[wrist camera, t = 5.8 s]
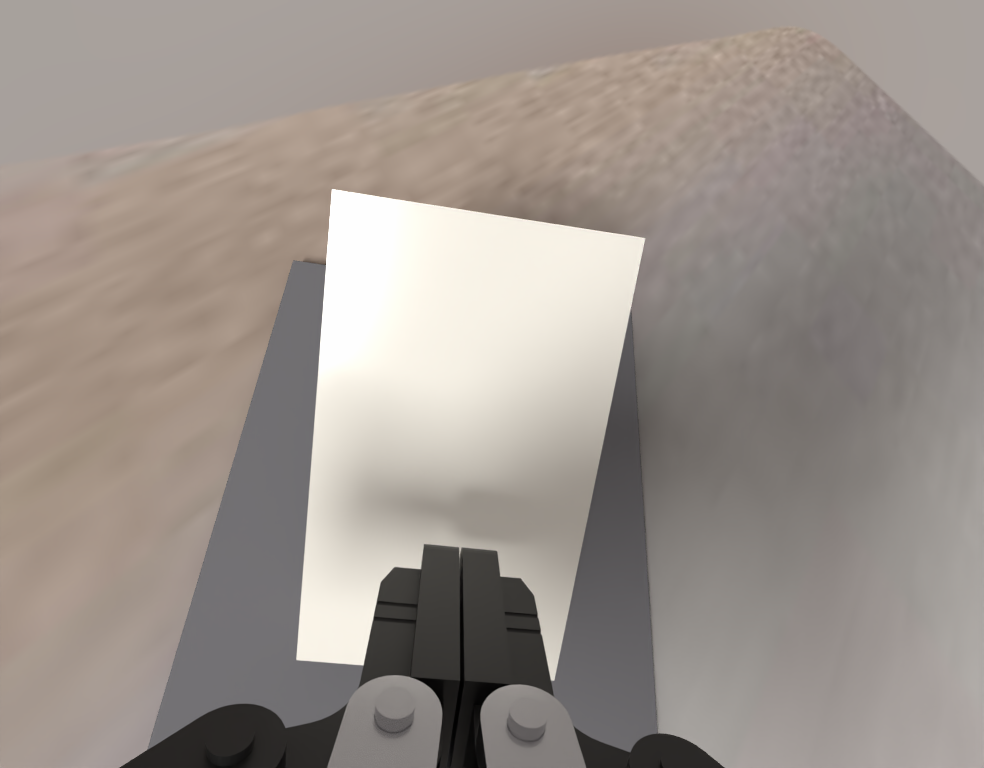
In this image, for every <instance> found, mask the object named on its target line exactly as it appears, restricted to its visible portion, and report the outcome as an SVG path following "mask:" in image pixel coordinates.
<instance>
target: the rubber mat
mask: <svg viewBox="0 0 984 768" xmlns="http://www.w3.org/2000/svg"><path fill="white" fill-rule="evenodd" d="M325 276H326V265H322V264H315V263H308V262H301V261H294V260H293V263H292V267H291V270H290V273H289V277H288V280H287V283H286V287H285V290H284V293H283V297H282V300H281V303H280V307H279V310H278V314H277V317H276V320H275V324H274V327H273V330H272V334H271V337H270V340H269V344H268V347H267V350H266V354H265V357H264V360H263V364H262V367H261V371H260V374H259V377H258V381H257V384H256V387H255V391H254V394H253V397H252V401H251V404H250V407H249V411H248V414H247V417H246V421H245V424H244V427H243V431H242V434H241V438H240V441H239V444H238V448H237V451H236V454H235V458H234V461H233V464H232V468H231V471H230V474H229V478H228V481H227V484H226V488H225V491H224V495H223V498H222V501H221V505H220V508H219V511H218V515H217V518H216V521H215V525H214V528H213V531H212V535H211V538H210V541H209V545H208V548H207V551H206V555H205V558H204V562H203V565H202V568H201V572H200V575H199V578H198V582H197V585H196V588H195V592H194V595H193V598H192V602H191V605H190V608H189V612H188V615H187V619H186V622H185V625H184V629H183V632H182V635H181V639H180V642H179V645H178V649H177V652H176V655H175V659H174V662H173V665H172V669H171V672H170V676H169V679H168V682H167V686H166V689H165V692H164V696H163V699H162V702H161V706H160V709H159V712H158V716H157V719H156V722H155V726H154V729H153V732H152V736H151V739H150V743H149V746H148V749H150V748H152V747H153V746H155V745H156V744H158V743H159V742H161V741H163V740H164V739H166V738H167V737H169V736H171V735H172V734H174V733H175V732H177V731H178V730H180V729H182V728H183V727H185V726H186V725H188V724H190V723H191V722H193V721H194V720H196V719H198V718H199V717H201V716H203V715H204V714H206V713H208V712H210V711H212V710H215V709H217V708H220V707H224V706H227V705H233V704H256V705H259V706H263V707H265V708H267V709H270V710H271V711H273V712H274V713H275V714H277V715H278V717H279V718H280V719H281V720H282V722H283V724H284V726H285V728H288V727H293V726H297V725H302V724H307V723H311V722H315V721H318V720H321V719H324V718H326V717H328V716H330V715H332V714H334V713H336V712H337V711H339V710H340V709H341V708H343V707H344V706H345V705H346V704H347V703H348V702H349V700H350V698H351V697H352V695H353V694H354V692H355V691H356V690H357V689H358V687H359V683H360V680H361V675H362V670H363V665H352V664H339V663H327V662H314V661H301V660H296V657H297V644H298V631H299V617H300V604H301V591H302V578H303V565H304V552H305V539H306V526H307V512H308V499H309V486H310V473H311V460H312V447H313V434H314V421H315V407H316V394H317V381H318V368H319V355H320V342H321V329H322V316H323V302H324V289H325ZM551 683H552V688H553V693H554V697H555V698H556V699H557V700H558V701H559V702H560V703H561V704H562V705H563V706H564V707H565V709H566V710H567V712H568V714H569V716H570V718H571V720H572V723H573V726H574V727H576V728H577V729H578V730H580V731H581V732H582V733H584V734H586V735H587V736H589V737H591V738H593V739H595V740H598V741H600V742H603V743H605V744H608V745H611V746H614V747H617V748H619V749H622V750H625V751H628V752H631V750H632V748H633V746H634V744H635V743H636V742H637V741H638V740H639V739H641V738H642V737H644V736H647V735H651V734H658V732H657V716H656V700H655V684H654V668H653V652H652V636H651V620H650V604H649V588H648V572H647V556H646V540H645V524H644V507H643V491H642V475H641V459H640V443H639V427H638V411H637V395H636V379H635V363H634V347H633V331H632V315H631V310H630V315H629V319H628V324H627V329H626V334H625V339H624V344H623V349H622V353H621V358H620V363H619V368H618V373H617V378H616V383H615V388H614V392H613V397H612V402H611V407H610V412H609V417H608V422H607V427H606V431H605V436H604V441H603V446H602V451H601V456H600V461H599V465H598V470H597V475H596V480H595V485H594V490H593V495H592V500H591V504H590V509H589V514H588V519H587V524H586V529H585V534H584V538H583V543H582V548H581V553H580V558H579V563H578V568H577V573H576V577H575V582H574V587H573V592H572V597H571V602H570V607H569V612H568V616H567V621H566V626H565V631H564V636H563V641H562V646H561V650H560V655H559V660H558V665H557V670H556V675H555V680H554V681H552V680H551ZM148 749H147V750H148Z"/></svg>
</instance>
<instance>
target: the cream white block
mask: <svg viewBox="0 0 984 768" xmlns="http://www.w3.org/2000/svg"><path fill="white" fill-rule="evenodd" d="M644 242H645V238H641V237H635V236H628V235H622V234H615V233H609V232H602V231H596V230H590V229H583V228H577V227H570V226H564V225H557V224H551V223H545V222H538V221H532V220H525V219H519V218H512V217H506V216H500V215H493V214H487V213H480V212H474V211H467V210H461V209H455V208H448V207H442V206H435V205H429V204H422V203H416V202H410V201H403V200H397V199H390V198H384V197H377V196H371V195H365V194H358V193H352V192H345V191H339V190H332V198H331V211H330V224H329V237H328V250H327V263H326V276H325V289H324V302H323V316H322V329H321V342H320V355H319V368H318V381H317V394H316V407H315V421H314V434H313V447H312V460H311V473H310V486H309V499H308V512H307V526H306V539H305V552H304V565H303V578H302V591H301V604H300V617H299V631H298V644H297V657H296V660H301V661H314V662H327V663H339V664H352V665H364V660H365V655H366V651H367V646H368V641H369V636H370V631H371V626H372V622H373V617H374V612H375V607H376V603H377V597H378V593H379V588H380V583H381V581H382V580H383V579H384V578H385V577H386V576H387V575H388V574H389V572H390V571H391V570H392V569H393V568H394V567H402V568H413V569H421V563H422V555H423V547H424V544H431V545H441V546H452V547H459V558H460V552H461V548H462V547H463V548H474V549H484V550H495V551H497V553H498V561H499V569H500V576H501V577H512V578H521V579H522V581H523V582H524V583H525V584H526V586H527V587H528V588H529V590H530V591H531V592H532V593H533V595H534V597H535V602H536V608H537V613H538V618H539V623H540V628H541V634H542V638H543V643H544V648H545V653H546V658H547V663H548V668H549V673H550V678H551V680H552V681H554V680H555V675H556V670H557V665H558V660H559V655H560V650H561V646H562V641H563V636H564V631H565V626H566V621H567V616H568V612H569V607H570V602H571V597H572V592H573V587H574V582H575V577H576V573H577V568H578V563H579V558H580V553H581V548H582V543H583V538H584V534H585V529H586V524H587V519H588V514H589V509H590V504H591V500H592V495H593V490H594V485H595V480H596V475H597V470H598V465H599V461H600V456H601V451H602V446H603V441H604V436H605V431H606V427H607V422H608V417H609V412H610V407H611V402H612V397H613V392H614V388H615V383H616V378H617V373H618V368H619V363H620V358H621V353H622V349H623V344H624V339H625V334H626V329H627V324H628V319H629V315H630V310H631V305H632V300H633V295H634V290H635V285H636V280H637V276H638V271H639V266H640V261H641V256H642V251H643V246H644Z"/></svg>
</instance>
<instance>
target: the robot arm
mask: <svg viewBox="0 0 984 768" xmlns="http://www.w3.org/2000/svg"><path fill="white" fill-rule="evenodd" d="M120 768H724V767H723V766H722V765H720V764H719V763H718V762H717V761H716V760H714V759H713V758H712V757H711V756H709V755H708V754H707V753H706V752H704V751H703V750H702V749H700V748H699V747H698V746H696V745H694V744H693V743H691V742H689V741H687V740H685V739H682V738H680V737H677V736H674V735H669V734H651V735H647V736H644V737H642V738H641V739H639V740H638V741H637V742H636V743H635V744H634V746H633V748H632V750H631V752H628V751H625V750H622V749H619V748H617V747H614V746H611V745H608V744H605V743H603V742H600V741H598V740H595V739H593V738H591V737H589V736H587V735H586V734H584V733H582V732H581V731H580V730H578V729H577V728H576V727H574V726H573V723H572V720H571V718H570V716H569V714H568V712H567V710H566V709H565V707H564V706H563V705H562V704H561V703H560V702H559V701H558V700H557V699H556V698H555V697H554V693H553V688H552V683H551V678H550V673H549V668H548V663H547V658H546V653H545V648H544V643H543V638H542V634H541V628H540V623H539V618H538V613H537V608H536V602H535V597H534V595H533V593H532V592H531V591H530V590H529V588H528V587H527V586H526V584H525V583H524V582H523V581H522V579H521V578H512V577H501V576H500V569H499V561H498V553H497V551H495V550H484V549H474V548H463V547H462V548H461V552H460V558H459V547H452V546H441V545H431V544H424V547H423V555H422V563H421V569H413V568H402V567H394V568H393V569H392V570H391V571H390V572H389V574H388V575H387V576H386V577H385V578H384V579H383V580H382V581H381V583H380V588H379V593H378V597H377V603H376V607H375V612H374V617H373V622H372V626H371V631H370V636H369V641H368V646H367V651H366V655H365V660H364V665H363V670H362V675H361V680H360V683H359V687H358V689H357V690H356V691H355V692H354V694H353V695H352V697H351V698H350V700H349V702H348V703H347V704H346V705H345V706H344V707H343V708H341V709H340V710H339V711H337V712H336V713H334V714H332V715H330V716H328V717H326V718H324V719H321V720H318V721H315V722H311V723H307V724H302V725H297V726H293V727H288V728H285V726H284V724H283V722H282V720H281V719H280V718H279V717H278V715H277V714H275V713H274V712H273V711H271V710H270V709H267V708H265V707H263V706H259V705H256V704H233V705H227V706H224V707H220V708H217V709H215V710H212V711H210V712H208V713H206V714H204V715H203V716H201V717H199V718H198V719H196V720H194V721H193V722H191V723H190V724H188V725H186V726H185V727H183V728H182V729H180V730H178V731H177V732H175V733H174V734H172V735H171V736H169V737H167V738H166V739H164V740H163V741H161V742H159V743H158V744H156V745H155V746H153V747H152V748H150V749H148V750H147V751H145V752H144V753H142V754H140V755H139V756H137V757H136V758H134V759H132V760H131V761H129V762H128V763H126V764H125V765H123V766H121V767H120Z"/></svg>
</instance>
